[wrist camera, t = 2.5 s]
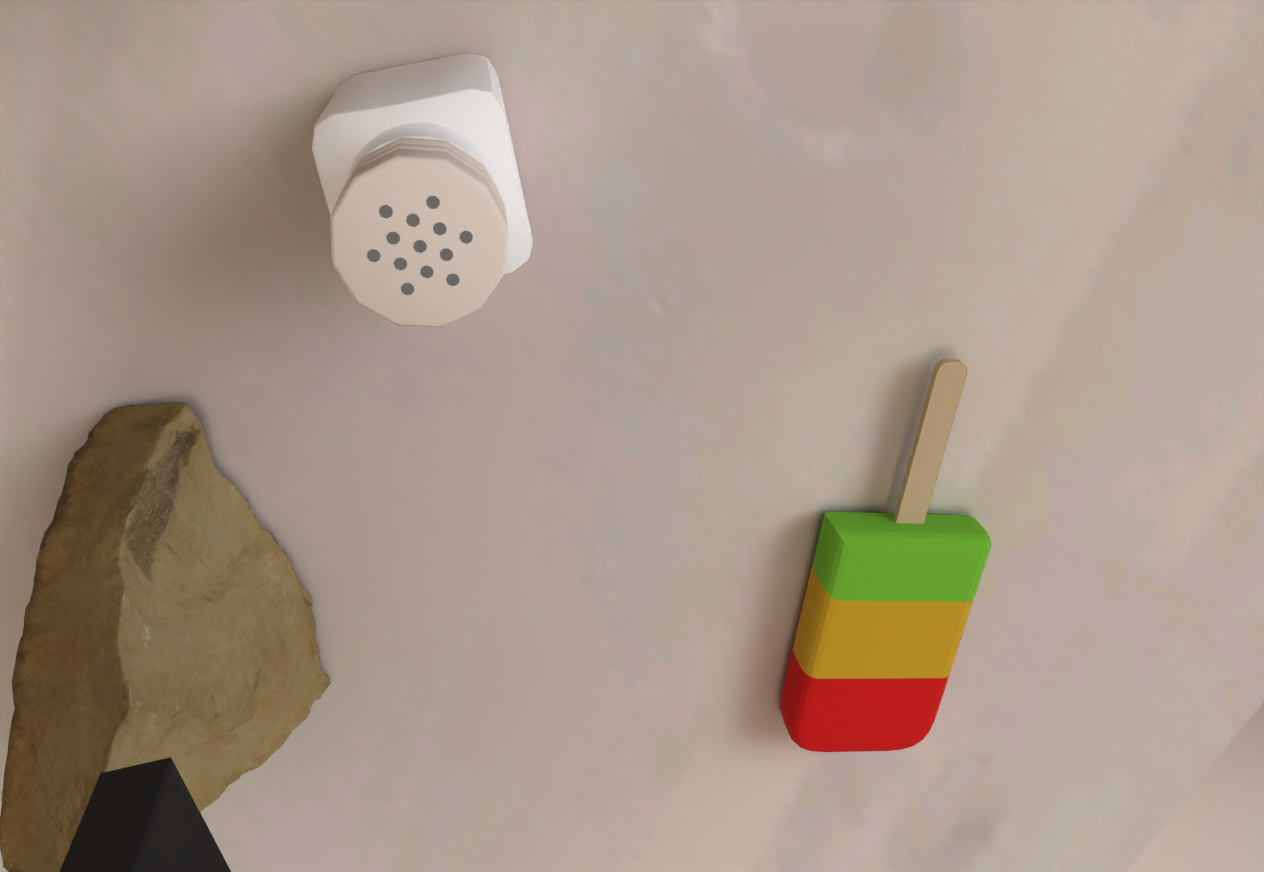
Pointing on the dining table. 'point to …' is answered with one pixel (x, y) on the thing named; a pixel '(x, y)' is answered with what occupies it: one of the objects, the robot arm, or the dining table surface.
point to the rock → (150, 633)
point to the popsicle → (886, 605)
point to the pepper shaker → (422, 189)
